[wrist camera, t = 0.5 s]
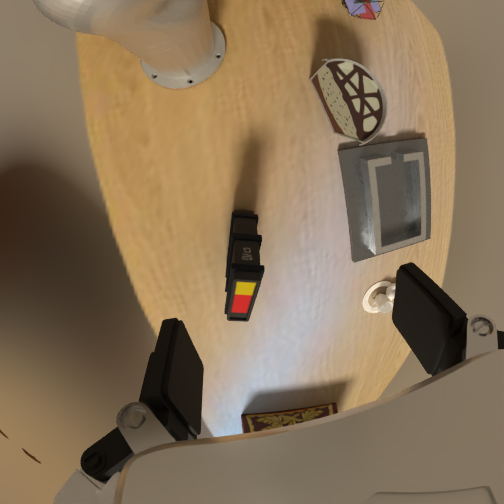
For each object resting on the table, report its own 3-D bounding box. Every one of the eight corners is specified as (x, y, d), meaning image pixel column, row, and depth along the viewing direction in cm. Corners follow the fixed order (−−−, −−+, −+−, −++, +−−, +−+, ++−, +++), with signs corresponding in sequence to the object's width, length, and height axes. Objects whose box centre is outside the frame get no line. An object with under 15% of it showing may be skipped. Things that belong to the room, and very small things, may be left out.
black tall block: (259, 193, 40) (265, 279, 31) (247, 250, 50) (248, 327, 41) (234, 190, 40) (231, 277, 30) (226, 248, 50) (223, 326, 40)
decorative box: (243, 439, 75) (246, 477, 62) (240, 413, 67) (244, 459, 54) (324, 429, 77) (334, 465, 64) (335, 401, 69) (349, 443, 56)
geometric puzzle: (389, 27, 28) (395, -8, 21) (359, 32, 29) (361, -5, 22) (363, 7, 30) (364, -25, 22) (333, 12, 31) (331, -22, 23)
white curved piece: (400, 276, 52) (409, 287, 48) (393, 307, 55) (401, 318, 52) (364, 282, 51) (373, 293, 48) (359, 314, 55) (366, 326, 51)
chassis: (337, 150, 40) (346, 152, 37) (423, 137, 39) (435, 139, 36) (351, 260, 48) (359, 269, 45) (427, 236, 48) (437, 243, 45)
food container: (368, 129, 38) (402, 132, 29) (337, 141, 39) (366, 147, 30) (338, 60, 33) (367, 46, 24) (305, 70, 34) (327, 56, 25)
